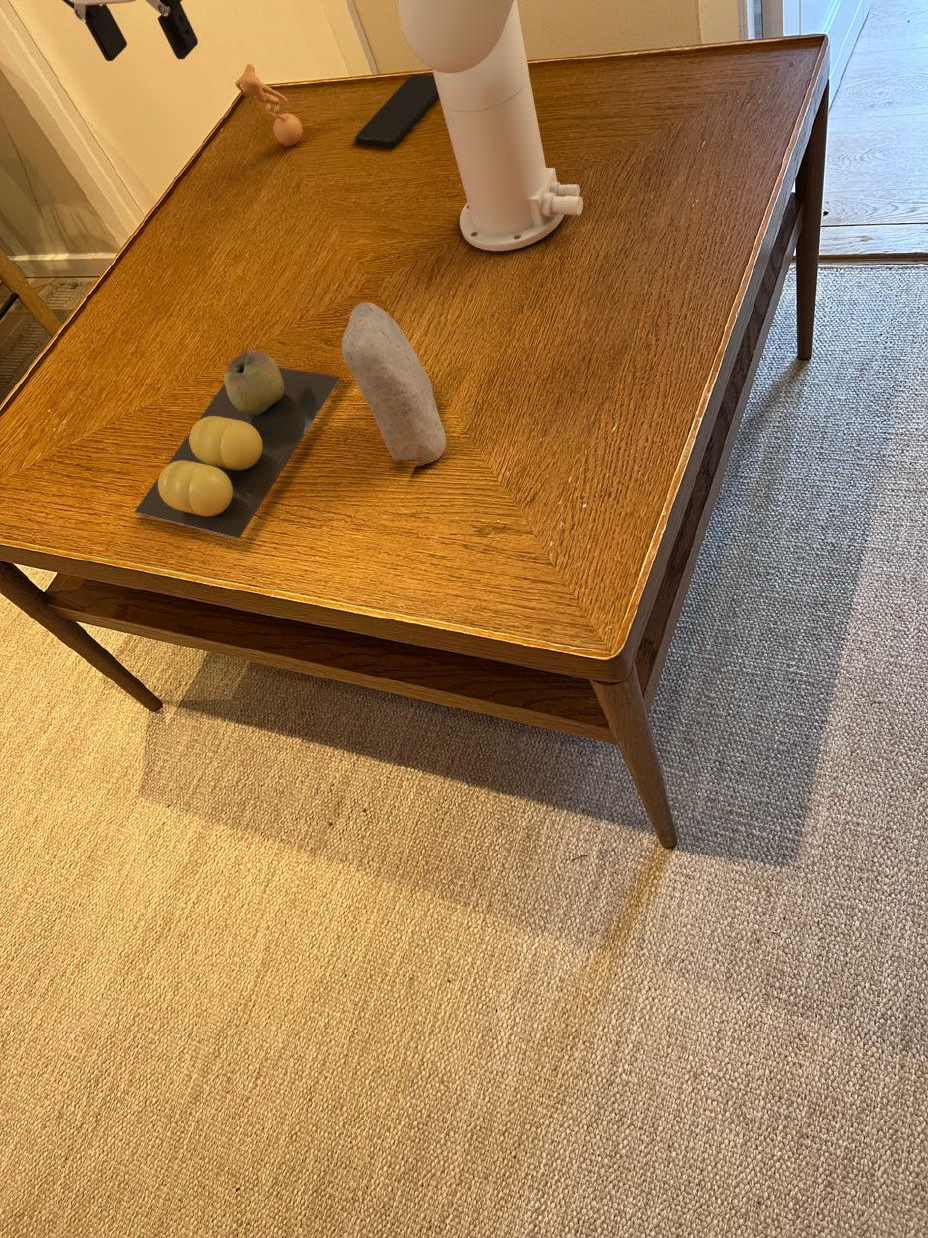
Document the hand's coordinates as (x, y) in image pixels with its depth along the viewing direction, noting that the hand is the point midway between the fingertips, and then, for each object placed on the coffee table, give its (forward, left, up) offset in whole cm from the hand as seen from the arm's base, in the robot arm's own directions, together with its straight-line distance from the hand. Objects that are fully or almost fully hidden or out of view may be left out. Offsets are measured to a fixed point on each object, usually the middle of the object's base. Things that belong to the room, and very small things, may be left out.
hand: (152, 52), depth 93 cm
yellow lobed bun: (-16, +30, -25) cm, 42 cm away
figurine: (+10, -24, -26) cm, 37 cm away
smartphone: (-5, -32, -26) cm, 42 cm away
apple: (-15, +21, -25) cm, 36 cm away
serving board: (-15, +28, -26) cm, 41 cm away
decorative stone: (-33, +21, -26) cm, 47 cm away
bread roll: (-16, +36, -25) cm, 47 cm away
